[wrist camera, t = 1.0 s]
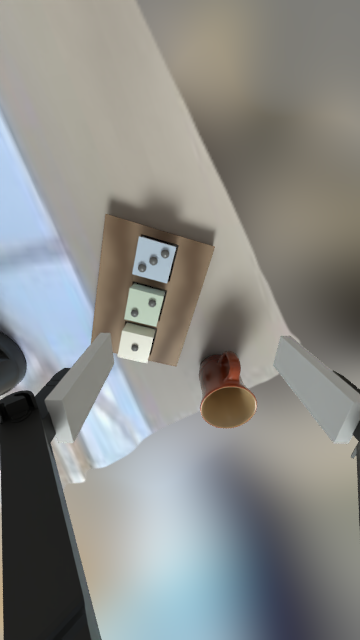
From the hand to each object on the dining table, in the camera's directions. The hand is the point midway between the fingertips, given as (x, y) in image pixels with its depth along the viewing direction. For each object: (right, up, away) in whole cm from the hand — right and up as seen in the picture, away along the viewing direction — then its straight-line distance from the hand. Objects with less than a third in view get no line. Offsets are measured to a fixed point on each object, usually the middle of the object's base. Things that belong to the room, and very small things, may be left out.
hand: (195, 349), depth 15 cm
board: (-7, +6, +18) cm, 20 cm away
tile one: (-9, -1, +19) cm, 21 cm away
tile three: (-5, +12, +14) cm, 19 cm away
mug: (+6, -6, +23) cm, 25 cm away
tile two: (-7, +5, +16) cm, 19 cm away
